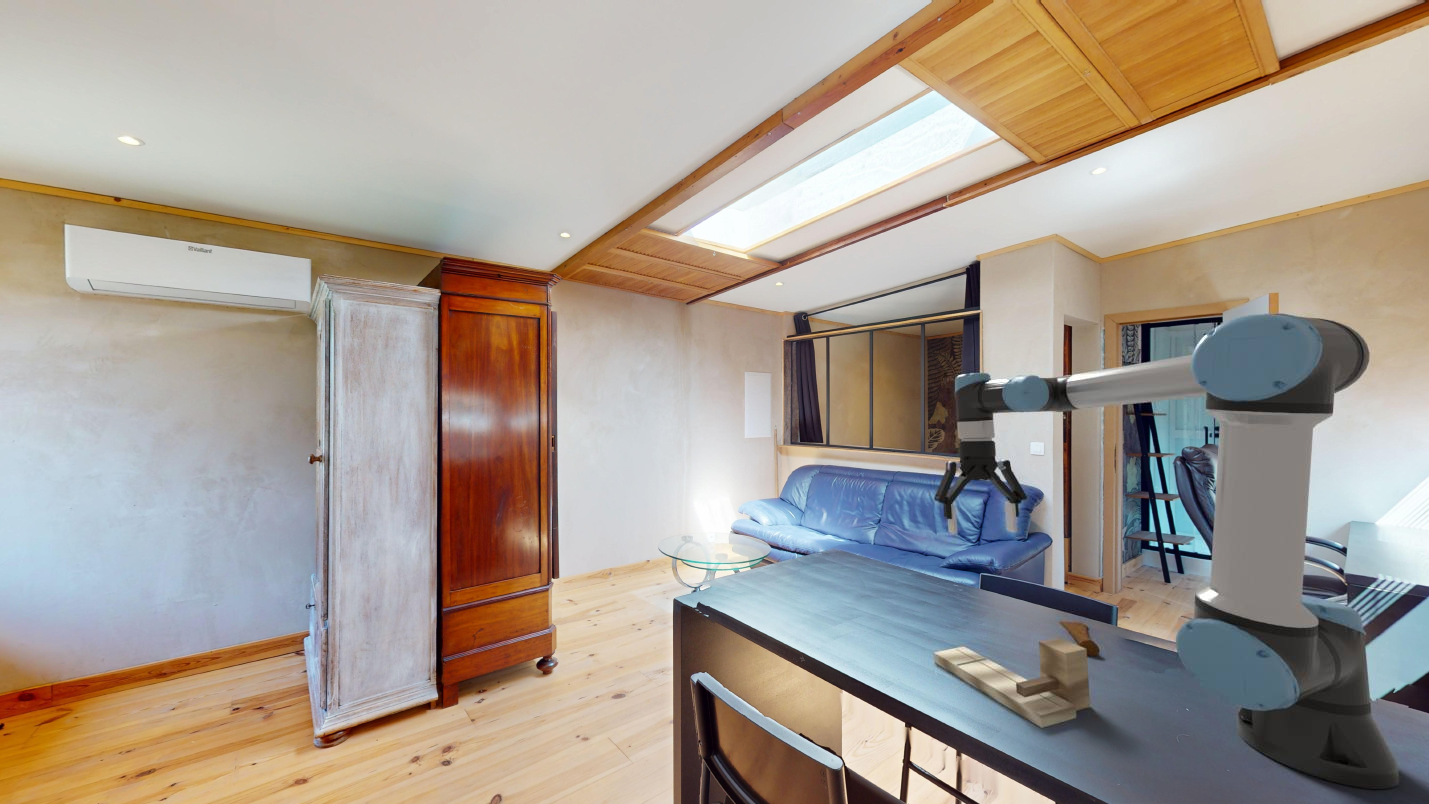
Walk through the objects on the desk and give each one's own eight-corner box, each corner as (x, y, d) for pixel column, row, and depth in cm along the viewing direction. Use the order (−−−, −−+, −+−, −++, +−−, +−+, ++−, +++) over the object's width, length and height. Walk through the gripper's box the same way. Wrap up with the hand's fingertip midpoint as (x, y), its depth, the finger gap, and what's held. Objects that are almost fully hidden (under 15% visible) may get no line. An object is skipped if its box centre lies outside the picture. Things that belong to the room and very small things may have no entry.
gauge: (1090, 706, 85) (1086, 648, 86) (1035, 722, 81) (1031, 661, 82) (1062, 692, 90) (1058, 637, 90) (1009, 706, 86) (1005, 648, 86)
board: (1076, 717, 82) (1075, 705, 82) (1041, 727, 80) (1040, 715, 80) (964, 655, 105) (963, 646, 105) (934, 662, 102) (933, 652, 103)
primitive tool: (1058, 623, 122) (1057, 608, 122) (1085, 626, 119) (1084, 611, 119) (1080, 657, 104) (1079, 640, 104) (1111, 661, 102) (1110, 644, 102)
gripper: (1019, 438, 116) (1025, 527, 114) (916, 441, 116) (921, 530, 114) (1040, 438, 108) (1047, 533, 107) (930, 441, 108) (935, 537, 107)
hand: (982, 532), depth 111 cm, fingers open, 13 cm apart
